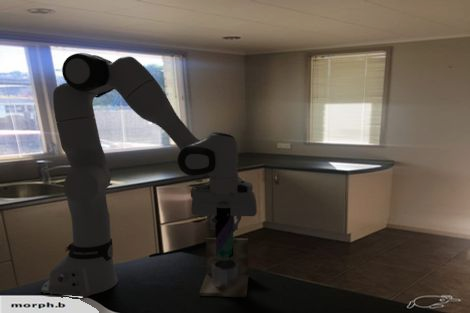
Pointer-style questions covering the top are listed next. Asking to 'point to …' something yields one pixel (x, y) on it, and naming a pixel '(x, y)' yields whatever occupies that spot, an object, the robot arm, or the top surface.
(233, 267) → the ring
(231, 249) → the spray can
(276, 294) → the top surface
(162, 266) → the top surface
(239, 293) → the brown l-shaped piece
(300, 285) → the top surface
